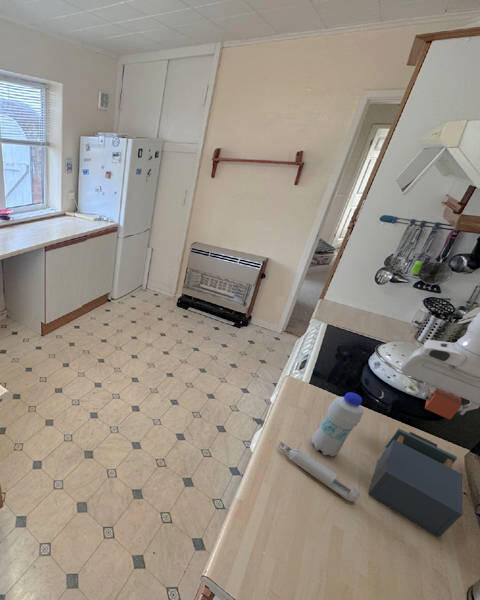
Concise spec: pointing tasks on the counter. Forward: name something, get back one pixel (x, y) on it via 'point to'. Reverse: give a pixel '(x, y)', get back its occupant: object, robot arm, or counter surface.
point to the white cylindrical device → (320, 472)
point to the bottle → (338, 424)
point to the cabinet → (418, 488)
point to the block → (443, 403)
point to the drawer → (423, 447)
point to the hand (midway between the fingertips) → (441, 405)
